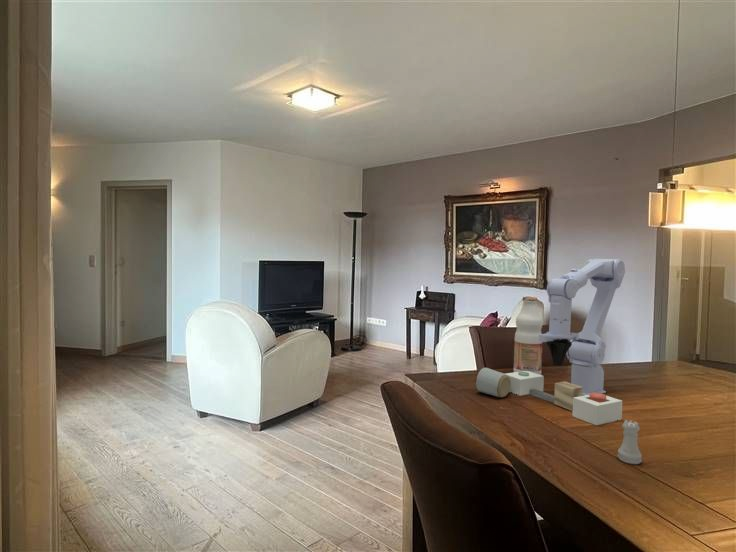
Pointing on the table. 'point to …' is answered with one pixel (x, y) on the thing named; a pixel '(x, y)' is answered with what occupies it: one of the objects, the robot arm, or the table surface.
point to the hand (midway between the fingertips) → (557, 364)
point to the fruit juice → (528, 338)
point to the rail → (542, 395)
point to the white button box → (525, 382)
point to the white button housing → (597, 410)
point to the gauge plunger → (597, 397)
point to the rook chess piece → (630, 444)
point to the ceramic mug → (493, 382)
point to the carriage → (566, 394)
